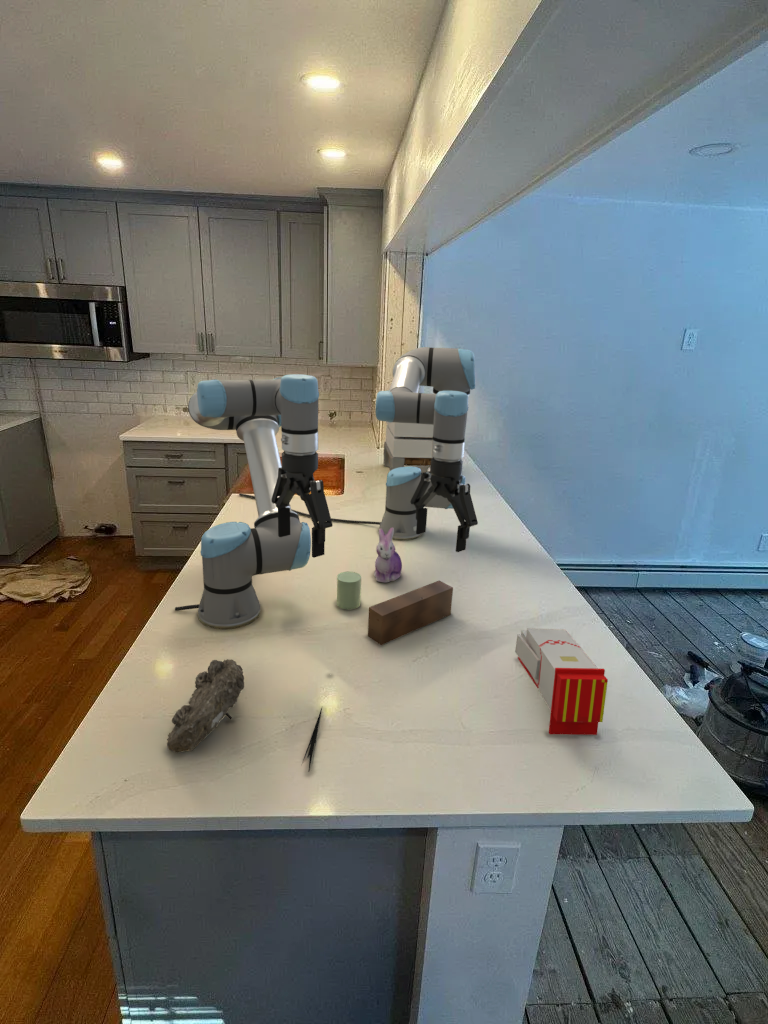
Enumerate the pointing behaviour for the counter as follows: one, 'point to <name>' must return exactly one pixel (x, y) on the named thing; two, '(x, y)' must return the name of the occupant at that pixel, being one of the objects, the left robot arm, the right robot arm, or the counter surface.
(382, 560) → the figurine
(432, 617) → the walnut box
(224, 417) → the left robot arm
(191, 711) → the fossil
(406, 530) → the right robot arm
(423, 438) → the transformer
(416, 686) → the counter surface
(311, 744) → the feather
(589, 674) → the toy
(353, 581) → the pale green cylinder
